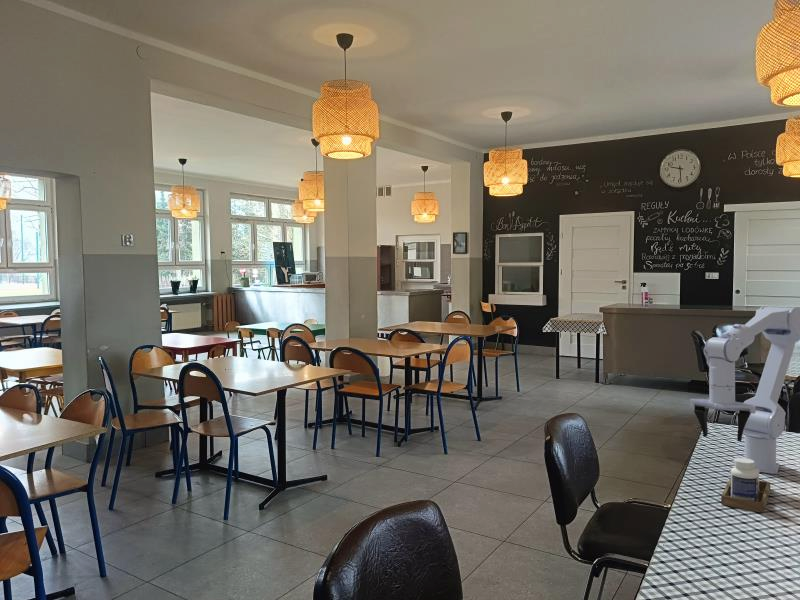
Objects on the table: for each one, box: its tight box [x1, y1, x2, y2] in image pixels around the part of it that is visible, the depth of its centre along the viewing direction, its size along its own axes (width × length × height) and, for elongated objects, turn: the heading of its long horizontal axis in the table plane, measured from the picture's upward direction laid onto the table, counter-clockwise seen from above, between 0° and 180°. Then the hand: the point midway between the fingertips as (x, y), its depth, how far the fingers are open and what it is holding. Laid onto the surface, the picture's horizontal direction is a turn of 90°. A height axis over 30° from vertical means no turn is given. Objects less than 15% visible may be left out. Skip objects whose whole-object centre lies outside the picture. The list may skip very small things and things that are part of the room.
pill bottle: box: [730, 457, 759, 502], centre depth 133 cm, size 5×5×10 cm
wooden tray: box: [720, 477, 771, 513], centre depth 136 cm, size 16×8×2 cm, turn 143°
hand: (722, 438), depth 148 cm, fingers open, 7 cm apart
